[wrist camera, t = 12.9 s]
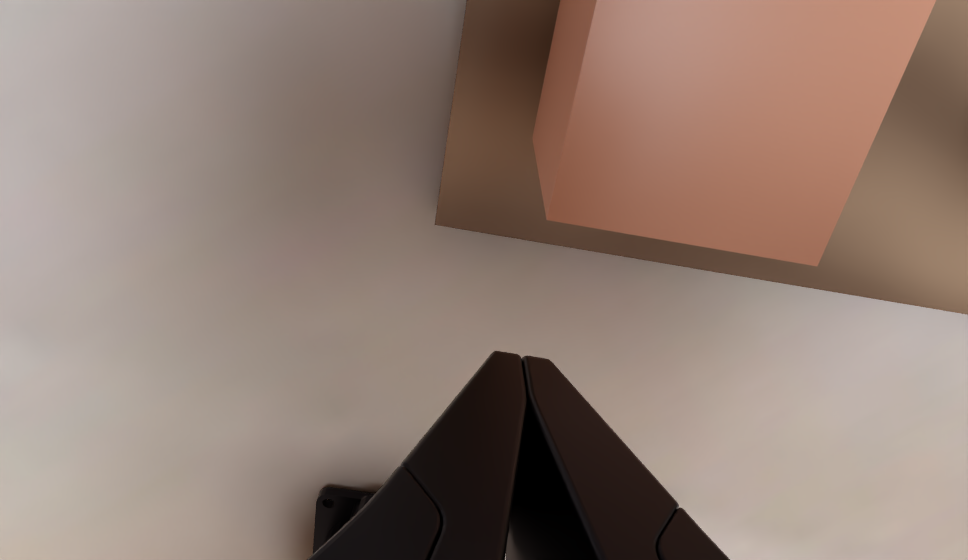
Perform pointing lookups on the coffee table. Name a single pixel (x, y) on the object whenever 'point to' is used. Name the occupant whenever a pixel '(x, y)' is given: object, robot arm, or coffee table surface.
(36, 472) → the coffee table surface
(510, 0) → the board
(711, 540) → the robot arm
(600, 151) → the salmon orange block
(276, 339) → the coffee table surface
